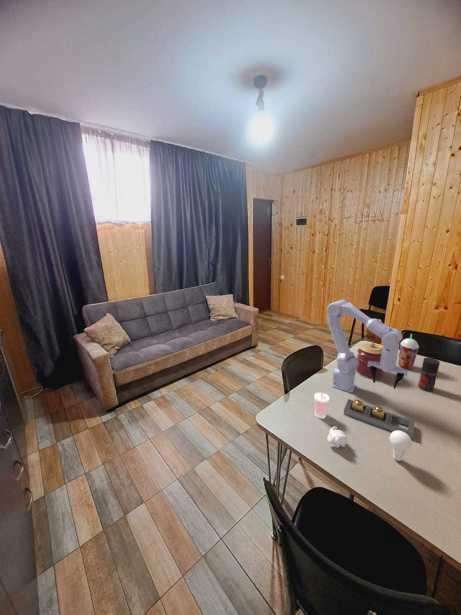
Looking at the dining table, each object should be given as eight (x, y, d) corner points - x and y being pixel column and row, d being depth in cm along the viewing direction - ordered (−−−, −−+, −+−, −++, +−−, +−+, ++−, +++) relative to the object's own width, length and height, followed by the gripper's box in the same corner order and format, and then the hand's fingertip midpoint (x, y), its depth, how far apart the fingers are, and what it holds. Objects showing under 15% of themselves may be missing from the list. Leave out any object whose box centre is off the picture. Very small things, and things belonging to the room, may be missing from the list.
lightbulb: (382, 452, 86) (386, 427, 83) (398, 450, 87) (403, 425, 84) (394, 468, 80) (400, 441, 77) (412, 466, 81) (418, 439, 78)
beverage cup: (316, 407, 109) (319, 380, 105) (330, 414, 105) (333, 386, 101) (310, 414, 105) (312, 386, 101) (323, 422, 101) (326, 392, 97)
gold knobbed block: (351, 413, 105) (352, 402, 104) (353, 408, 108) (354, 397, 107) (361, 417, 103) (362, 406, 101) (363, 412, 106) (364, 401, 104)
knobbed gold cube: (370, 420, 101) (372, 409, 100) (372, 414, 104) (374, 403, 103) (382, 424, 99) (384, 412, 97) (383, 418, 102) (385, 407, 100)
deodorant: (436, 392, 117) (442, 364, 112) (421, 391, 118) (427, 363, 114) (429, 385, 122) (435, 358, 118) (415, 384, 123) (421, 357, 119)
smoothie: (418, 370, 135) (425, 337, 129) (402, 370, 135) (408, 337, 129) (407, 362, 143) (413, 331, 137) (393, 363, 143) (398, 331, 137)
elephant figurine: (322, 438, 93) (323, 425, 92) (343, 436, 94) (344, 423, 92) (331, 453, 87) (332, 439, 85) (352, 451, 87) (354, 437, 86)
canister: (357, 363, 144) (361, 335, 139) (383, 370, 137) (387, 341, 132) (353, 373, 134) (356, 344, 129) (380, 381, 127) (385, 350, 122)
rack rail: (343, 413, 105) (344, 409, 104) (348, 403, 111) (348, 398, 110) (412, 439, 91) (413, 434, 90) (413, 426, 97) (414, 421, 97)
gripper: (368, 356, 106) (364, 383, 110) (409, 365, 97) (403, 395, 101) (370, 350, 111) (367, 376, 115) (410, 358, 103) (404, 386, 106)
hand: (384, 384), depth 108 cm, fingers open, 7 cm apart
